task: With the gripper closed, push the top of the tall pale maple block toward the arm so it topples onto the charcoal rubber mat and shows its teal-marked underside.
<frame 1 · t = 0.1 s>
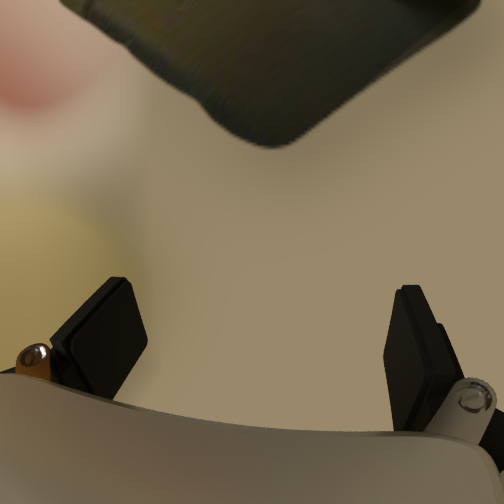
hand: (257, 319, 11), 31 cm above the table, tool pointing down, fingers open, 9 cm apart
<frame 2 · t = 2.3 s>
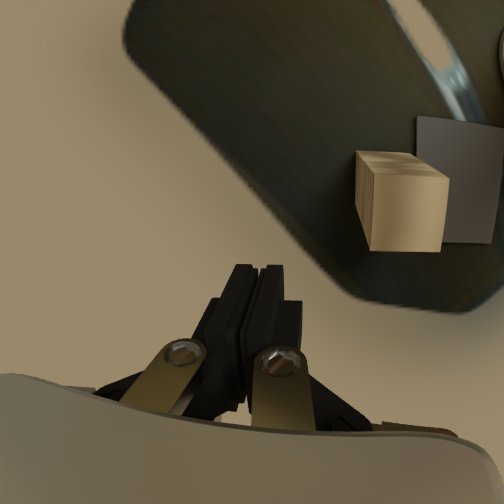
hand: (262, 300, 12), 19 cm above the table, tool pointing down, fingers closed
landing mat: (459, 183, 26), on the table
maple block: (382, 178, 27), on the table
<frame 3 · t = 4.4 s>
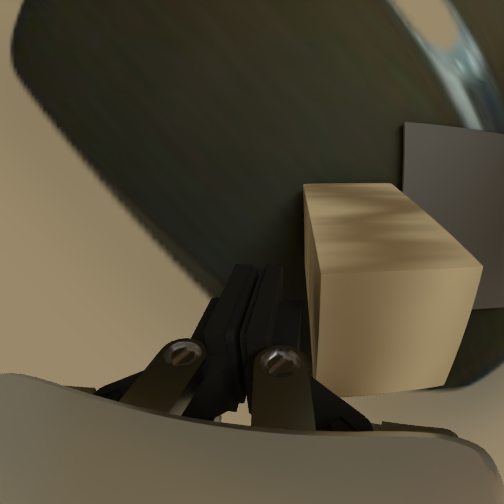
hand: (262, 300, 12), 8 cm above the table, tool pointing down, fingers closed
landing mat: (469, 226, 17), on the table
maple block: (347, 225, 18), on the table, touching gripper
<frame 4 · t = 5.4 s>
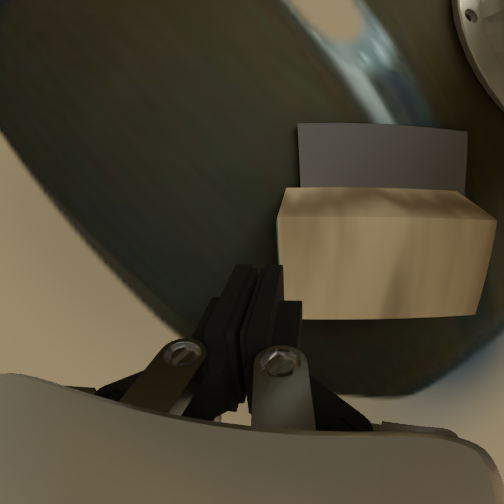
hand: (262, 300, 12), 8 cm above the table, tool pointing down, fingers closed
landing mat: (384, 228, 18), on the table
maple block: (282, 248, 16), point 3 cm above the table, tilted 90°, touching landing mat
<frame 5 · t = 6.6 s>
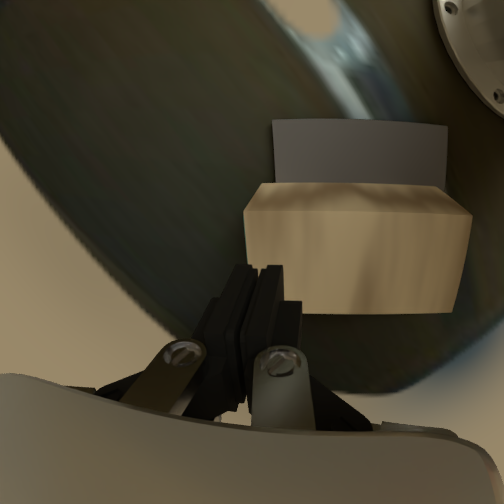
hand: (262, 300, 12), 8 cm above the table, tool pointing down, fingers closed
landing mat: (362, 224, 18), on the table
maple block: (255, 242, 17), point 3 cm above the table, tilted 90°, touching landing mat
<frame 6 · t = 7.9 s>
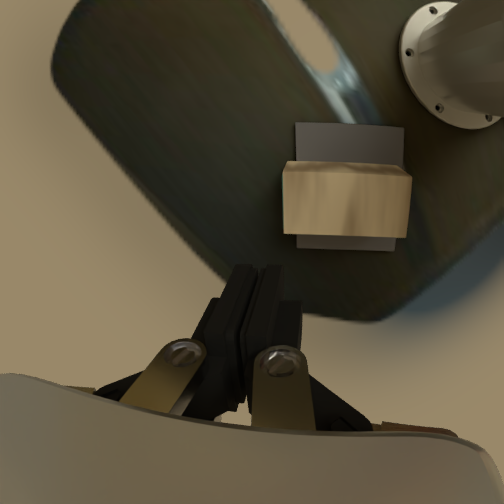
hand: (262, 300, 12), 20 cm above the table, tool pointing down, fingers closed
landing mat: (349, 188, 29), on the table
maple block: (284, 195, 27), point 3 cm above the table, tilted 90°, touching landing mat
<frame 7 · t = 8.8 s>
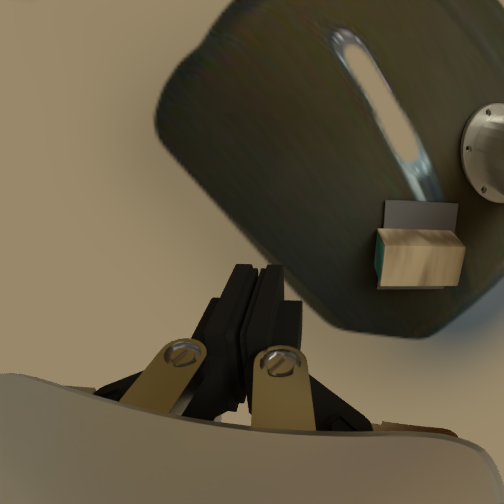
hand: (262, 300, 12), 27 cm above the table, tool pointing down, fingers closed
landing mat: (417, 247, 37), on the table
maple block: (378, 256, 36), point 3 cm above the table, tilted 90°, touching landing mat
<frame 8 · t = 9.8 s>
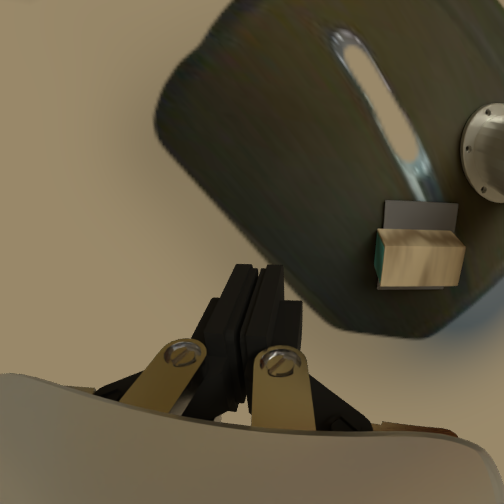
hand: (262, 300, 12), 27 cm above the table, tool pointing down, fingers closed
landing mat: (417, 247, 37), on the table
maple block: (378, 256, 36), point 3 cm above the table, tilted 90°, touching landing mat
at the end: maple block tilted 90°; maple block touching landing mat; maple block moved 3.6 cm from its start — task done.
